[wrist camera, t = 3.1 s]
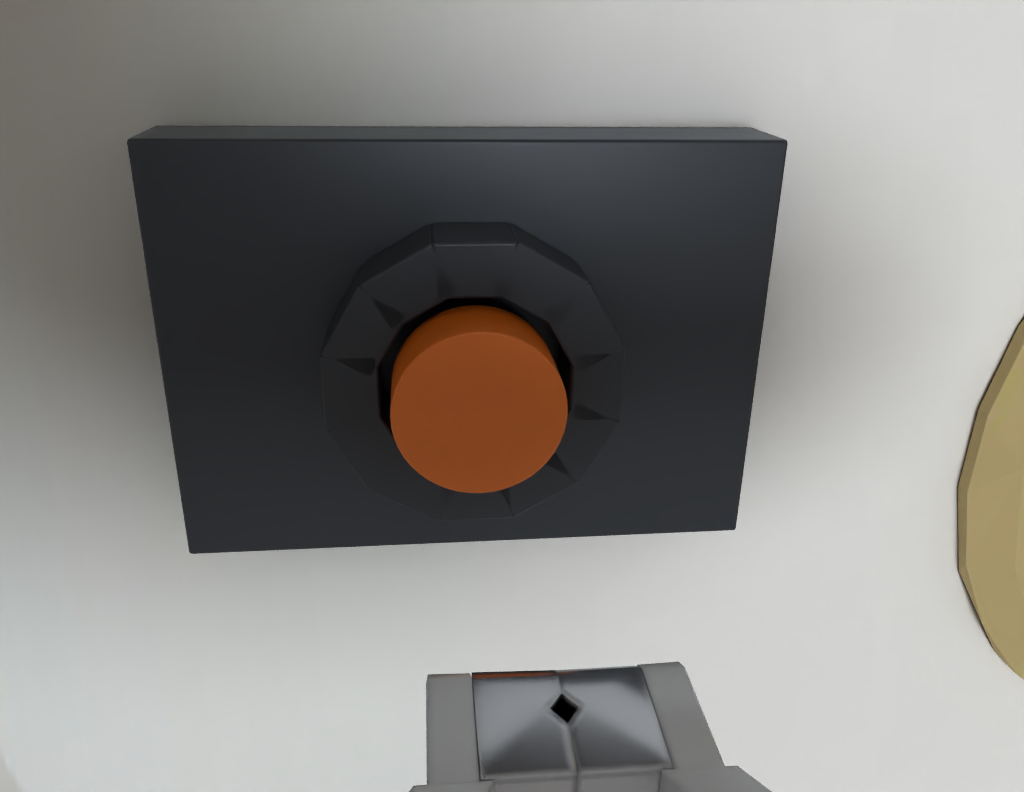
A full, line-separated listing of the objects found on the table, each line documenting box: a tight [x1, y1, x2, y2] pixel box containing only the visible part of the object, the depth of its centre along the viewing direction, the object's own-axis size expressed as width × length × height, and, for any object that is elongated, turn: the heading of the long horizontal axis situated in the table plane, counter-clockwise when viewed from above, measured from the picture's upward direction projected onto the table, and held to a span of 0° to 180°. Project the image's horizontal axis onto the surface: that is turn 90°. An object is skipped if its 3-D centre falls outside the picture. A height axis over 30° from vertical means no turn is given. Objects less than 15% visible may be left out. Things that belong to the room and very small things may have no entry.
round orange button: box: [390, 305, 568, 493], centre depth 19 cm, size 4×4×2 cm
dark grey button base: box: [127, 126, 787, 554], centre depth 21 cm, size 14×10×4 cm
